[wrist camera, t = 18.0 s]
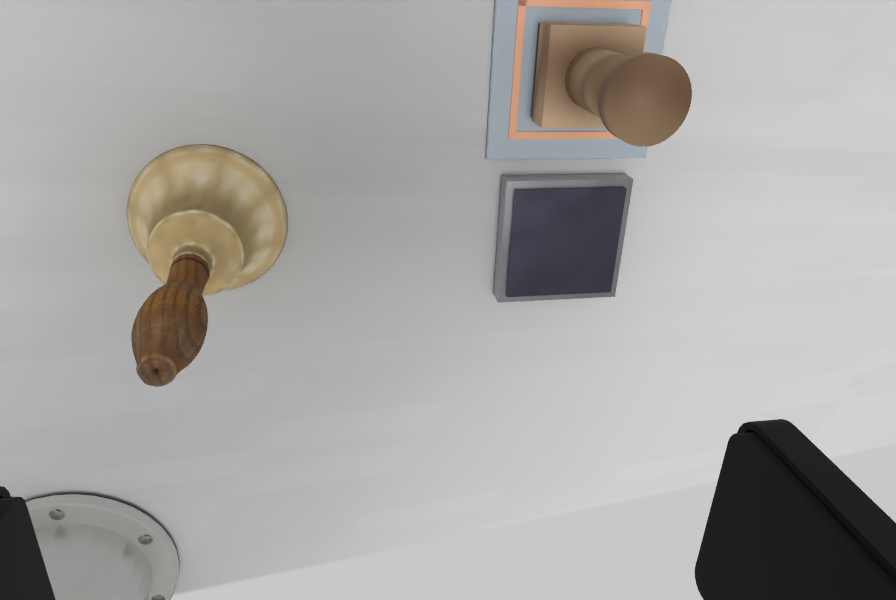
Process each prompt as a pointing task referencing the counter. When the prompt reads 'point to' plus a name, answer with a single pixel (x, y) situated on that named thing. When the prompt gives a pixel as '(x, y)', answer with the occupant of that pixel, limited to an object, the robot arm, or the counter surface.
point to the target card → (513, 76)
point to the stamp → (607, 82)
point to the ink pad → (560, 236)
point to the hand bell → (197, 245)
